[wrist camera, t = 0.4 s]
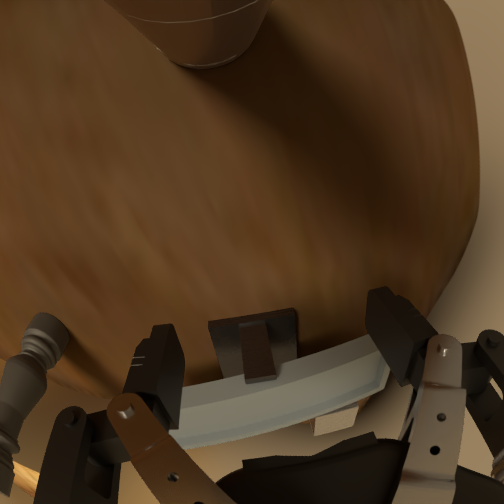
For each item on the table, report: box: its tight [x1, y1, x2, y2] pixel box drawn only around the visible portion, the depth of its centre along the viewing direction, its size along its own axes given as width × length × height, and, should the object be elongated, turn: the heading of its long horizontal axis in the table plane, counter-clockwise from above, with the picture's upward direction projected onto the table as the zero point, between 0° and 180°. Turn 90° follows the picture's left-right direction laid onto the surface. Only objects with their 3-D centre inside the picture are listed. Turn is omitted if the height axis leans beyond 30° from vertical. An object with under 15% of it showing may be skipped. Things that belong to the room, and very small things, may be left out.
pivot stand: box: [208, 308, 297, 429], centre depth 33 cm, size 12×10×9 cm
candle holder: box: [0, 313, 69, 497], centre depth 21 cm, size 6×6×25 cm
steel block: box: [310, 401, 359, 436], centre depth 38 cm, size 6×6×8 cm
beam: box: [169, 334, 390, 450], centre depth 29 cm, size 9×30×3 cm, turn 97°
